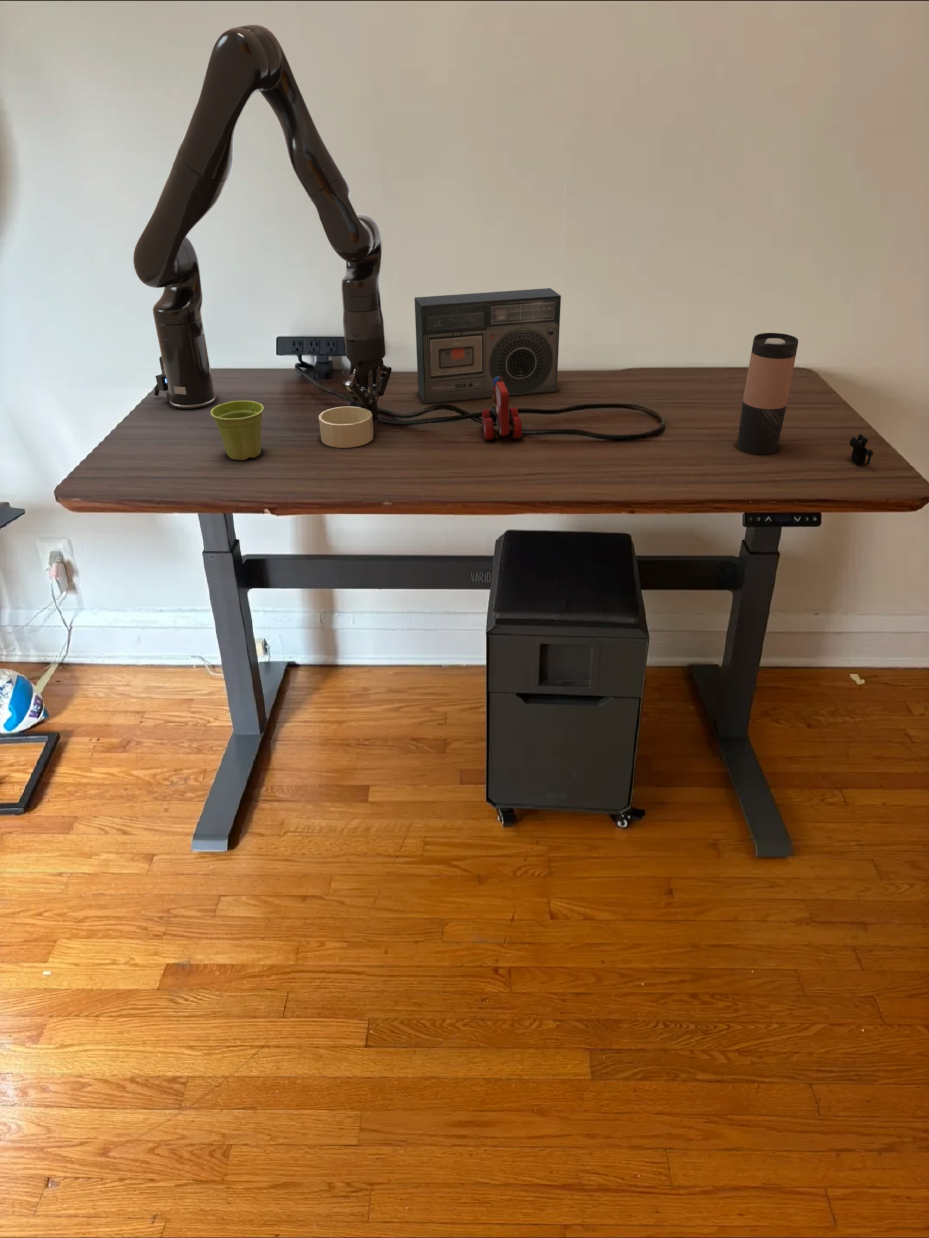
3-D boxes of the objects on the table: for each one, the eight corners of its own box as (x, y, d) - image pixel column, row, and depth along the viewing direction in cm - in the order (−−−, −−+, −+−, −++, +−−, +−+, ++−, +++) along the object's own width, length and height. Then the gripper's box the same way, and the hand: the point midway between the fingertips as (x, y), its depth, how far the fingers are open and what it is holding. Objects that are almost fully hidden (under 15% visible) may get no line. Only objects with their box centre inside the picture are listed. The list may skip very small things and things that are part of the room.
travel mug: (779, 442, 168) (800, 334, 157) (777, 457, 162) (798, 346, 151) (737, 437, 170) (754, 331, 160) (733, 452, 164) (751, 342, 154)
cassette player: (424, 403, 188) (421, 305, 177) (418, 393, 194) (414, 297, 183) (556, 391, 194) (560, 295, 183) (546, 381, 199) (550, 288, 189)
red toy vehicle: (515, 421, 179) (516, 369, 173) (522, 444, 169) (524, 390, 163) (480, 422, 179) (480, 371, 173) (486, 446, 168) (486, 392, 162)
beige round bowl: (310, 441, 171) (307, 418, 169) (343, 425, 178) (341, 403, 176) (350, 451, 167) (348, 428, 164) (383, 434, 174) (382, 412, 171)
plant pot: (258, 466, 161) (251, 420, 157) (209, 462, 163) (201, 416, 158) (277, 446, 169) (271, 402, 164) (230, 443, 171) (223, 399, 166)
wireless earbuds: (871, 470, 157) (878, 443, 154) (857, 471, 157) (864, 444, 154) (851, 455, 163) (857, 428, 160) (838, 455, 163) (844, 429, 160)
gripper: (370, 321, 174) (376, 407, 183) (325, 338, 165) (334, 428, 174) (401, 326, 171) (405, 414, 180) (357, 344, 161) (365, 435, 171)
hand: (370, 420), depth 177 cm, fingers closed
